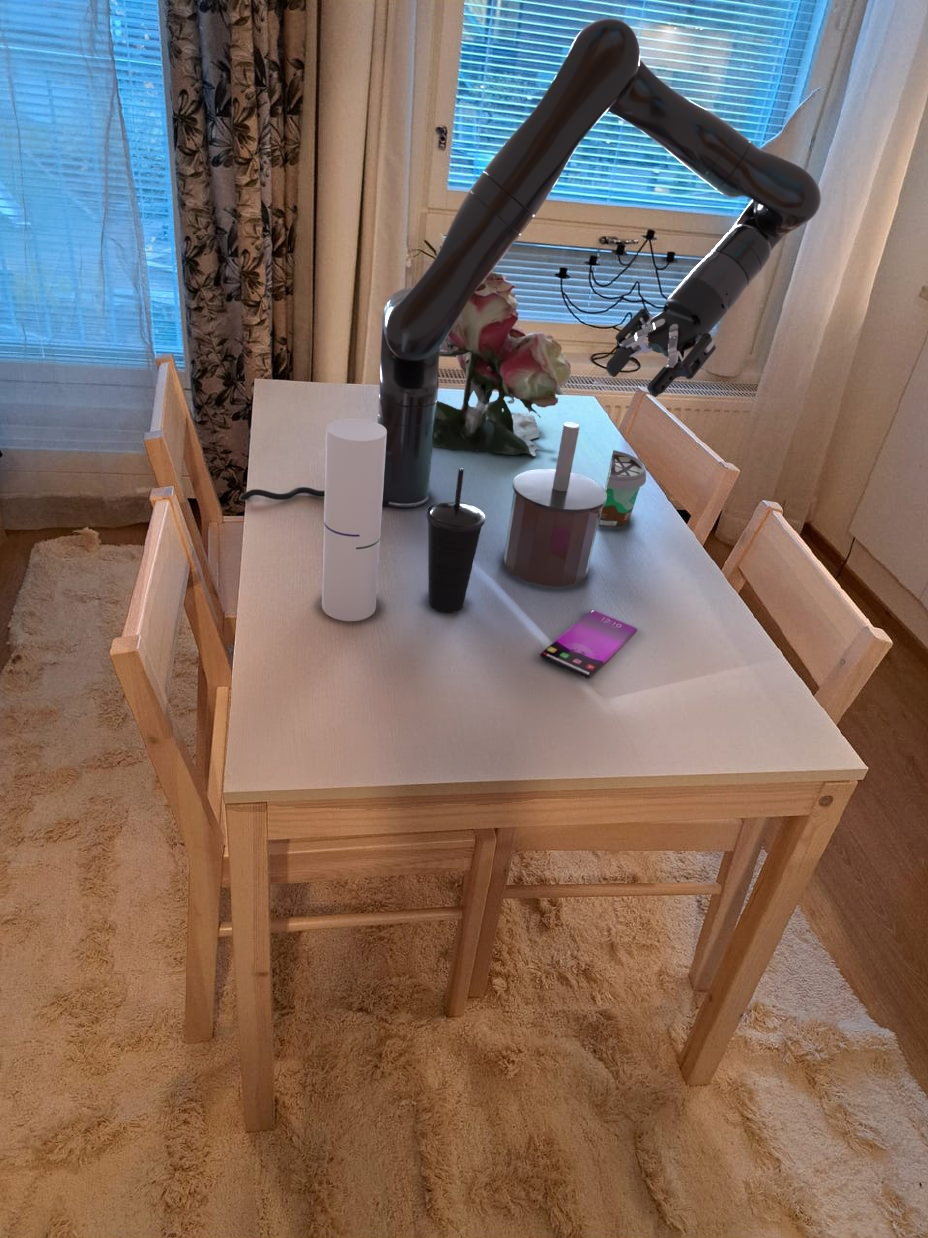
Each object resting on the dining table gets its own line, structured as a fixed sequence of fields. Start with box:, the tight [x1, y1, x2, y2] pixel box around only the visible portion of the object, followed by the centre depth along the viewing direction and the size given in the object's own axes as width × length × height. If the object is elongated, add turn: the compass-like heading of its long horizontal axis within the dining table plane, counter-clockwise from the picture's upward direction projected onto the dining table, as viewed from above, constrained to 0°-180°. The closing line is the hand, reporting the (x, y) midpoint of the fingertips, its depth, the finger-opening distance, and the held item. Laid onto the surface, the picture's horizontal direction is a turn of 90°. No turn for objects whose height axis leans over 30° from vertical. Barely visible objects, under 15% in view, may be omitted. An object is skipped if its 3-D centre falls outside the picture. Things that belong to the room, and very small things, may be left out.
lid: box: [512, 421, 607, 513], centre depth 123 cm, size 14×14×11 cm
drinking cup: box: [425, 467, 486, 614], centre depth 115 cm, size 8×8×20 cm
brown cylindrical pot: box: [503, 491, 602, 588], centre depth 129 cm, size 13×13×12 cm
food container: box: [598, 449, 647, 528], centre depth 146 cm, size 12×6×10 cm, turn 168°
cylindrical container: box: [321, 417, 387, 622], centre depth 111 cm, size 7×7×25 cm
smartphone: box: [539, 609, 638, 679], centre depth 115 cm, size 7×15×1 cm, turn 146°
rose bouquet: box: [433, 271, 572, 457], centre depth 170 cm, size 26×29×30 cm
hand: (629, 382), depth 123 cm, fingers open, 8 cm apart
